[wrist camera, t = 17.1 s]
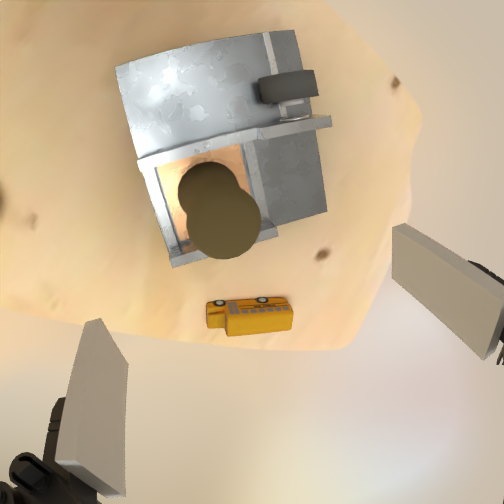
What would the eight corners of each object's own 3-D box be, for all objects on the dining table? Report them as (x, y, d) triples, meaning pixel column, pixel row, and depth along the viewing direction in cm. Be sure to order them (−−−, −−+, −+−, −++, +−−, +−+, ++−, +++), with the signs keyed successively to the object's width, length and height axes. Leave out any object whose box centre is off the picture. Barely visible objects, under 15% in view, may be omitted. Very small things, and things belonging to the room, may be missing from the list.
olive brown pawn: (192, 231, 31) (203, 286, 21) (167, 176, 28) (164, 207, 19) (247, 207, 32) (284, 250, 22) (226, 151, 29) (256, 168, 19)
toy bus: (205, 299, 37) (209, 318, 34) (284, 294, 39) (294, 311, 36) (205, 321, 38) (209, 341, 35) (281, 315, 41) (291, 332, 37)
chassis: (117, 69, 24) (104, 58, 19) (288, 33, 27) (312, 18, 21) (170, 252, 33) (171, 278, 28) (321, 207, 36) (347, 224, 30)
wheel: (252, 81, 26) (267, 75, 22) (300, 74, 27) (323, 68, 23) (258, 110, 28) (274, 108, 23) (306, 101, 28) (329, 100, 24)
